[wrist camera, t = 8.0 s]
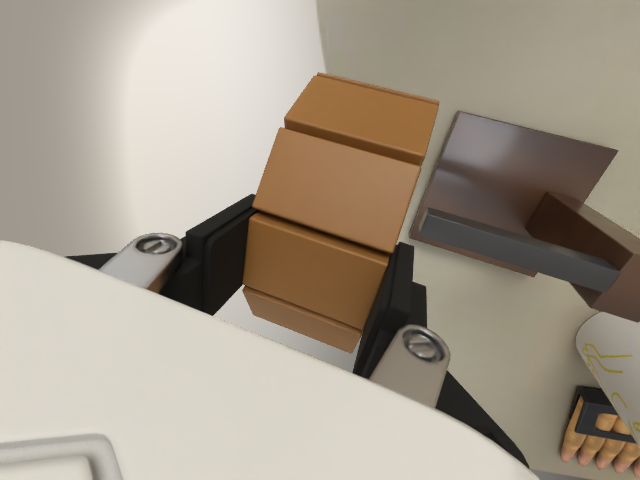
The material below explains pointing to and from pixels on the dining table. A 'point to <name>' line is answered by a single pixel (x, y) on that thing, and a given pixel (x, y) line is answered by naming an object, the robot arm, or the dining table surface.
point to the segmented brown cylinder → (334, 206)
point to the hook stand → (530, 210)
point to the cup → (614, 363)
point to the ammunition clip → (599, 433)
